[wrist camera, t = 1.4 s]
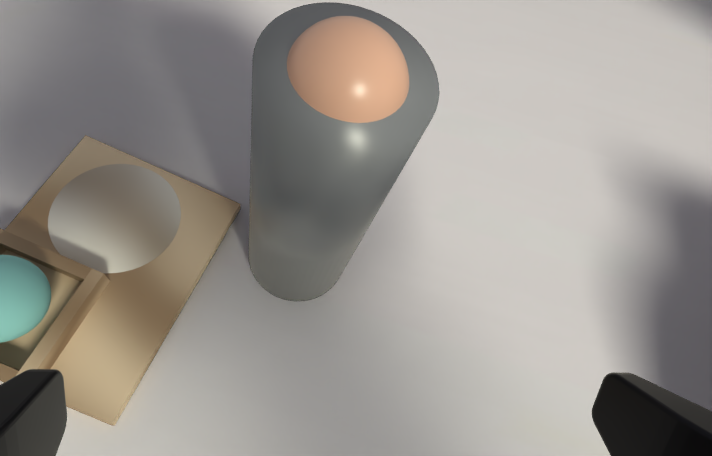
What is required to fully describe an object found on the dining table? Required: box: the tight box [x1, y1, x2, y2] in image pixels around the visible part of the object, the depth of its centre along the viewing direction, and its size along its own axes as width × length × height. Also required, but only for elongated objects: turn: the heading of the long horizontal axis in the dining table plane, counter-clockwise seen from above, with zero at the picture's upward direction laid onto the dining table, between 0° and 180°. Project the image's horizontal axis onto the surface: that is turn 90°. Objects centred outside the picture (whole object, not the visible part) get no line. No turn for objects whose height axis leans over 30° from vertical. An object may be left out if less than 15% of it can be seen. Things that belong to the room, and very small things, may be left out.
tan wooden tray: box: [0, 135, 240, 425], centre depth 19 cm, size 10×8×2 cm
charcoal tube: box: [249, 3, 439, 301], centre depth 16 cm, size 5×5×14 cm
